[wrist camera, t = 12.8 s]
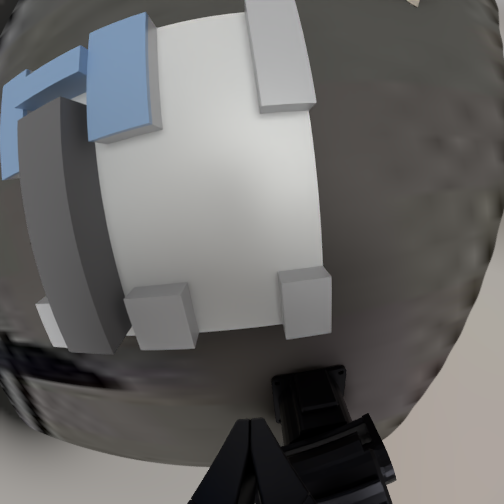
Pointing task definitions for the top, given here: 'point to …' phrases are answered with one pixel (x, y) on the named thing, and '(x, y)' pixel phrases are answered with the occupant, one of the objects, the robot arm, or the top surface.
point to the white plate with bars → (197, 170)
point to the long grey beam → (70, 227)
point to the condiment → (414, 2)
